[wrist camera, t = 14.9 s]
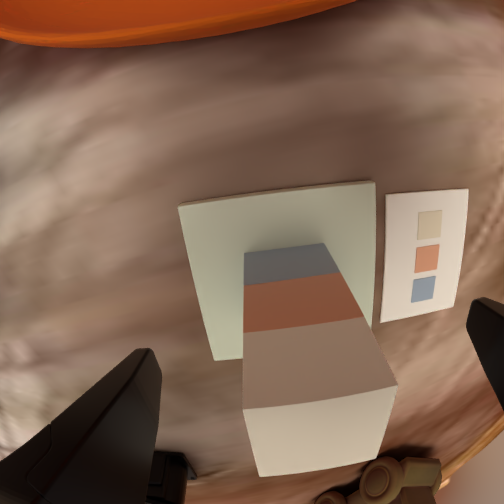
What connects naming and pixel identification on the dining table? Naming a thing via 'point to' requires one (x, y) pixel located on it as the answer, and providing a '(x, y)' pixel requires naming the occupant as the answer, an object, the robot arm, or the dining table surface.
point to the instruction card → (422, 251)
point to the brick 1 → (298, 303)
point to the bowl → (142, 20)
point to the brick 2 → (315, 396)
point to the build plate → (275, 246)
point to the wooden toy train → (393, 483)
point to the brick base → (287, 264)
